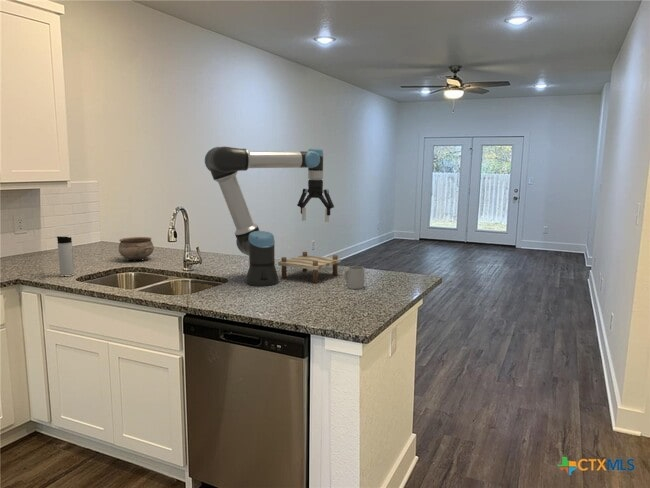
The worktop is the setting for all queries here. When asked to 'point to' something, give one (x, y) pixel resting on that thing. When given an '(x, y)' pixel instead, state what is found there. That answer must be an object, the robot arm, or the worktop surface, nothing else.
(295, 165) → the robot arm
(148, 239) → the cooking pot
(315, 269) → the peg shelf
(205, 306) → the worktop surface
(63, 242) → the travel mug
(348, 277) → the cup
